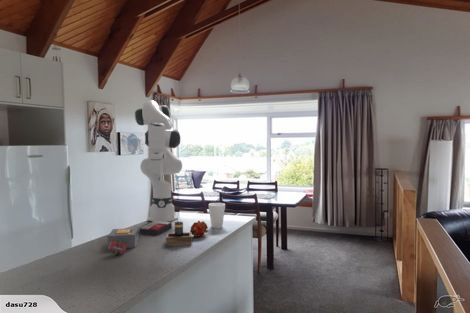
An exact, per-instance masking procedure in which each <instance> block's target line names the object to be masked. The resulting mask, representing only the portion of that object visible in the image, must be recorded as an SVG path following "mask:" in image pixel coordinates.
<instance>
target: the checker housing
mask: <svg viewBox="0 0 470 313" xmlns="http://www.w3.org/2000/svg"><path fill="white" fill-rule="evenodd" d="M121 229H122V228H113V229H112V230H111V231H110V232H109V234H108V235H107V249H108V250H109V244H110V242H111V241H112V240H113V241H114V240H116V241H117V242H120V239H121V240H122V241H121V242H120V243H124V244H125V243H126V244H128V245H127V247H126V249H133V248H134V249H135V248H136V246H137V244H138V242H139V228H138V227H136V228H135V227H134V228H128V229H131V233H128V234H116V232H117V231H118V230H121Z"/></svg>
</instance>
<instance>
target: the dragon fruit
mask: <svg viewBox="0 0 470 313" xmlns="http://www.w3.org/2000/svg"><path fill="white" fill-rule="evenodd" d="M208 228H209V226H208V225H207V223H206V222H205V221H204V220H202V221H200V220H197V221H196V222H194V223H193V224H192V225H191V226H190V231H189V232H191V236H192V237H193V238H198V237H201V238H202V237H204V236H205V234H206V233H208V232H209V230H208Z"/></svg>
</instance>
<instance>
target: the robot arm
mask: <svg viewBox="0 0 470 313" xmlns="http://www.w3.org/2000/svg"><path fill="white" fill-rule="evenodd" d="M170 110H171V109H170V108H169V106H168V105H164V104H163V105H162V104H161V105H159V104H158V102H157V101H155V100H153V99H149V100H146V101H145V102H144V103H143V106H142V108H141V107H140V108H139V109H136V110H135V111H134V120H135V122H136V124H137V125H138V126H147V131H146V132H145V133H144V136H145V137H144V139H145V140H144V145H146V146H147V147H148V148H147V152H148V153H147V154H148V155H147V156H148V157H147V158H143V160H142V161H141V163H140V167H139V168H140V171H141V173H142V174H143V175H144V176H146V177H147V178H148V179H149V181H150V183H151V185H152V200H151V203H152V205H150V207H149V216H148V217H147V218H146V220H147V221H149V222H154V221H162V222H173V221H177V220H178V219H179V217H178V216H177V215H176V211H175V205H174V204H173V196H172V185H171V183H170V182H169V181H167V180H165V179H163V177H162V176H164V175H175V174H178V173H180V172H181V171H182V168H183V162H182V160H181V159H180V158H179V157H177V156H176V155H174V153H172V151H171V150H170V149H176V148H177V147H179V145H180V143H181V134H180V132H179V131H178V129H176V126H175V125H174V124H173V122H172V120H171V115H172V114H171V113H172V112H171V111H170Z"/></svg>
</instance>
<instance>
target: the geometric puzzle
mask: <svg viewBox="0 0 470 313" xmlns="http://www.w3.org/2000/svg"><path fill="white" fill-rule="evenodd" d="M121 241H122V240H121V239H120V242H121ZM120 242H117V241H116V240H114V241H113V240H112V241H111V242H110V244H109V249H108V250H109V251H112V252H114V253H113V254H114V257H115V256H117V255H120V254H125V252H126V249H127V248H126V247H127V245H128V244H126V243H125V244H124V243H120Z"/></svg>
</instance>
